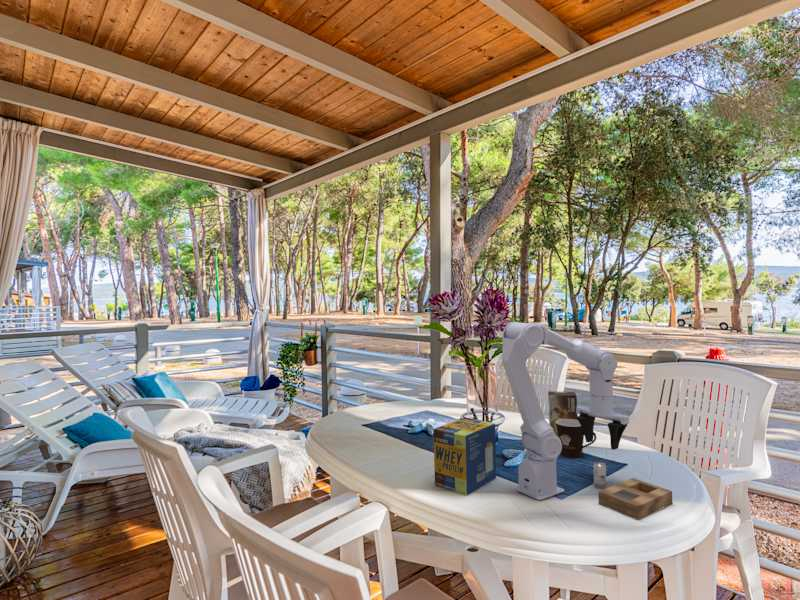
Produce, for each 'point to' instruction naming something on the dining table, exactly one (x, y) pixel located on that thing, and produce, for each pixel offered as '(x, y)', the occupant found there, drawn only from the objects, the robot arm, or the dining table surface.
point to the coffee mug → (571, 437)
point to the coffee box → (561, 407)
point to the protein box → (464, 455)
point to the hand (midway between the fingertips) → (601, 445)
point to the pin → (599, 475)
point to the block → (635, 498)
